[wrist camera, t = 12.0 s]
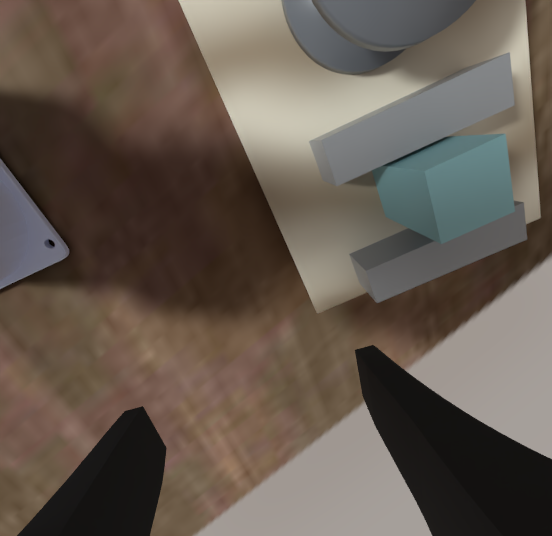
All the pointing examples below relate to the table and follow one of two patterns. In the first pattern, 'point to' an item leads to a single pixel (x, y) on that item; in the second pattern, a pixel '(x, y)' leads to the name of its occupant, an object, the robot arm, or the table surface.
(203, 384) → the table surface
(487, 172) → the peg
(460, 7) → the bobbin
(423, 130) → the gray parallel rails
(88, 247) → the table surface
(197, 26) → the board
